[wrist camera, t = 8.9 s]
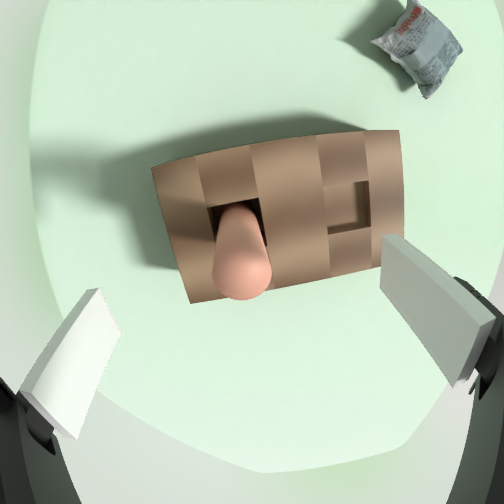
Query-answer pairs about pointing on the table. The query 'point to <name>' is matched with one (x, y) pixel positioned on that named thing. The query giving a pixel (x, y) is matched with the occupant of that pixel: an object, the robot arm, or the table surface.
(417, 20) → the packaged food
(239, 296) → the dowel
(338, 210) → the bore block
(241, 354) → the table surface
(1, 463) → the robot arm
